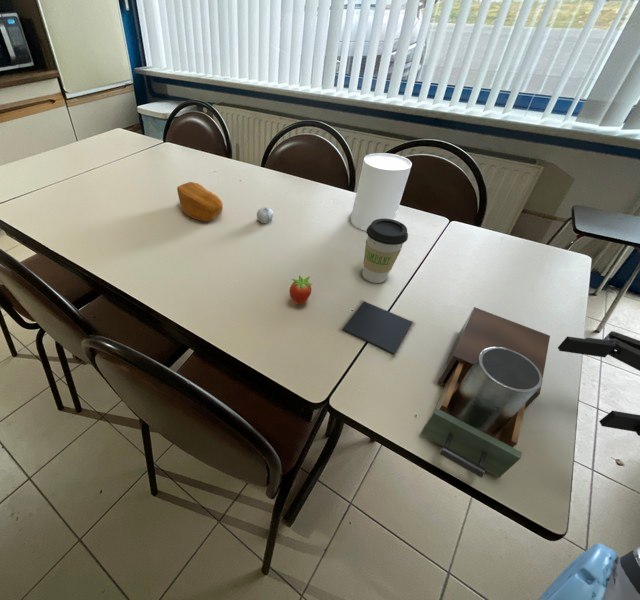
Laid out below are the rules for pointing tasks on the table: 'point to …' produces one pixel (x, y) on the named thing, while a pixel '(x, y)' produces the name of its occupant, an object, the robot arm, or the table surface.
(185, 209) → the bread
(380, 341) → the mat
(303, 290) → the fruit
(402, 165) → the canister
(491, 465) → the drawer
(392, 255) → the coffee cup
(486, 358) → the silver cylinder
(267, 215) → the garlic
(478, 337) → the cabinet
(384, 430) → the table surface
